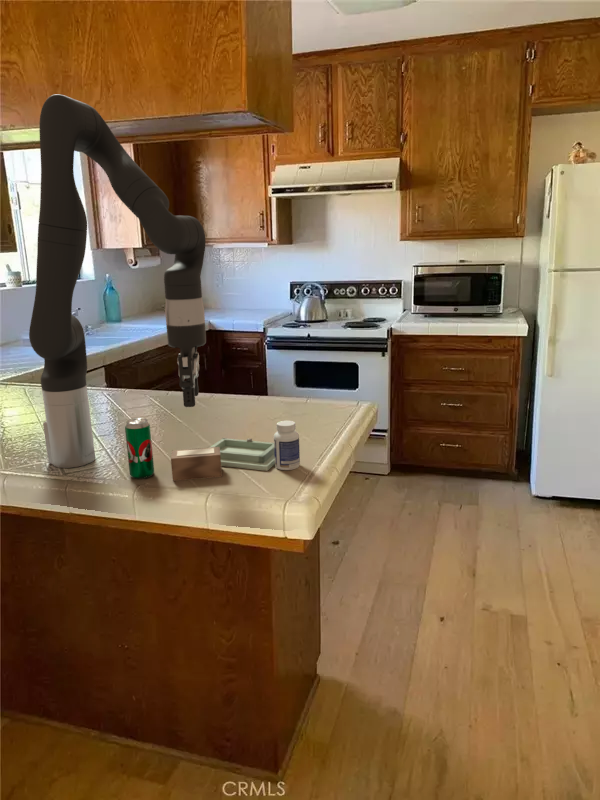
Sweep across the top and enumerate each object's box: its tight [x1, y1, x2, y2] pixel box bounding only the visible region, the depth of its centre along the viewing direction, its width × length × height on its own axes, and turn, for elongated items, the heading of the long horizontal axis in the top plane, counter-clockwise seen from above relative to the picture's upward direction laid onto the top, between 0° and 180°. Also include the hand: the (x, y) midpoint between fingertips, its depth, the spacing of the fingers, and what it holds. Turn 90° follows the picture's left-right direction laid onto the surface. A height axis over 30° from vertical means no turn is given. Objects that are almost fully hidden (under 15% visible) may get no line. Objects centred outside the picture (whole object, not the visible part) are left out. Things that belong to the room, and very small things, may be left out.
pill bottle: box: [273, 420, 301, 471], centre depth 131 cm, size 5×5×10 cm
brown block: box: [170, 446, 223, 482], centre depth 129 cm, size 10×5×5 cm, turn 99°
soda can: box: [124, 417, 155, 480], centre depth 128 cm, size 5×5×12 cm
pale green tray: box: [208, 437, 275, 472], centre depth 138 cm, size 17×11×3 cm, turn 70°
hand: (191, 401), depth 125 cm, fingers open, 8 cm apart
